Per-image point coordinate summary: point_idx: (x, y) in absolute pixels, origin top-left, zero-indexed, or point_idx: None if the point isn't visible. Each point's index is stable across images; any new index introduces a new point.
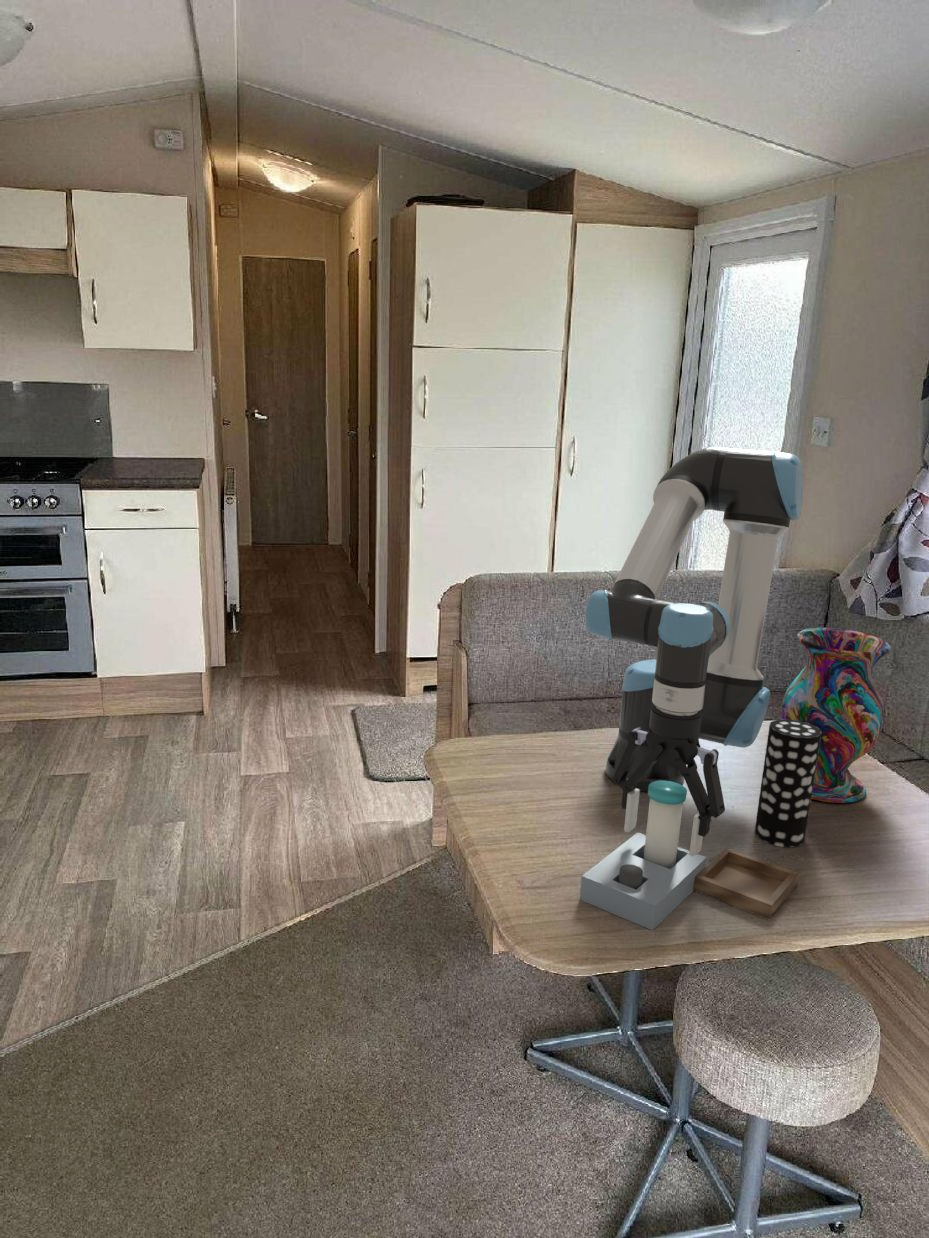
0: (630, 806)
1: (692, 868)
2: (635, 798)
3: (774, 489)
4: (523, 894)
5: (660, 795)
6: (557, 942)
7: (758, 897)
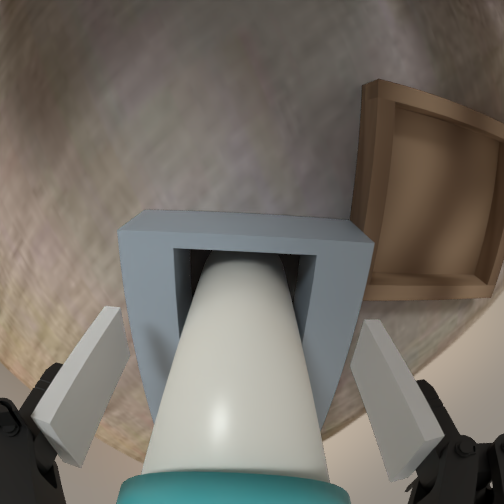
0: (96, 427)
1: (350, 327)
2: (77, 423)
3: None
4: (110, 425)
5: None
6: None
7: (475, 287)
